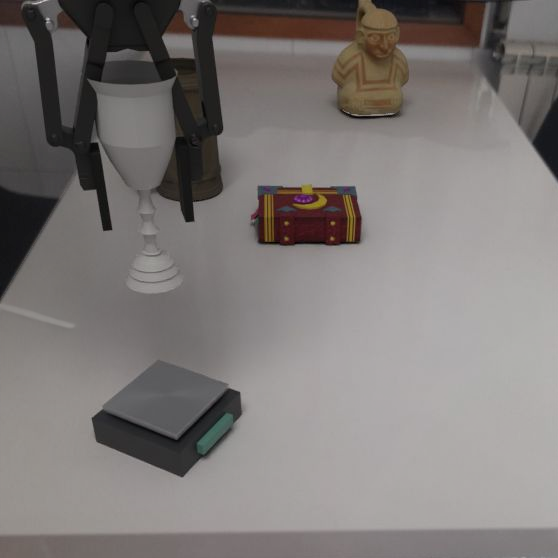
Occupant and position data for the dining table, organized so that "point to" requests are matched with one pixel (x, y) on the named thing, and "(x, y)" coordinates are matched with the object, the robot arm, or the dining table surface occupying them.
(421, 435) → the dining table surface
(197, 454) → the scale
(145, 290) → the chalice
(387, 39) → the ceramic vessel
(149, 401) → the scale pan
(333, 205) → the decorative book
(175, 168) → the beer stein
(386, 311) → the dining table surface
